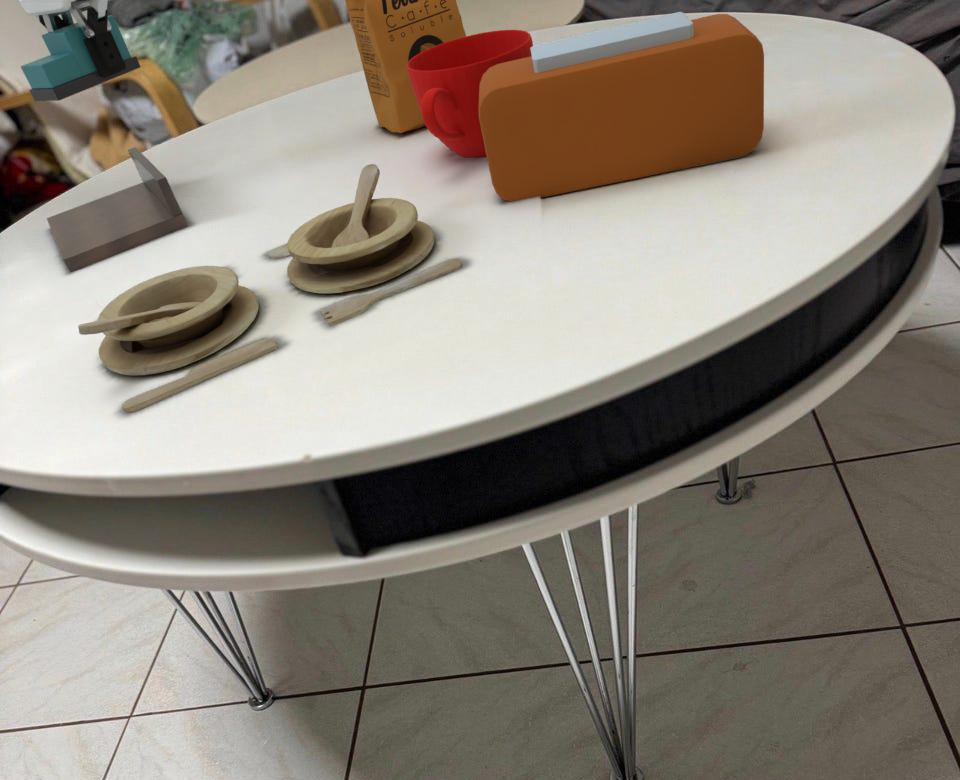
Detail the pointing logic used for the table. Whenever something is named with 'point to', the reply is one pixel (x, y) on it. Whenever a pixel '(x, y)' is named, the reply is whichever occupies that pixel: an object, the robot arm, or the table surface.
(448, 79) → the ceramic cup
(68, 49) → the teal l-shaped block
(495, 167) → the alarm clock
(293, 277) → the tableware set
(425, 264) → the table surface
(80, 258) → the brown l-shaped piece
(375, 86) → the coffee package
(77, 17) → the robot arm
